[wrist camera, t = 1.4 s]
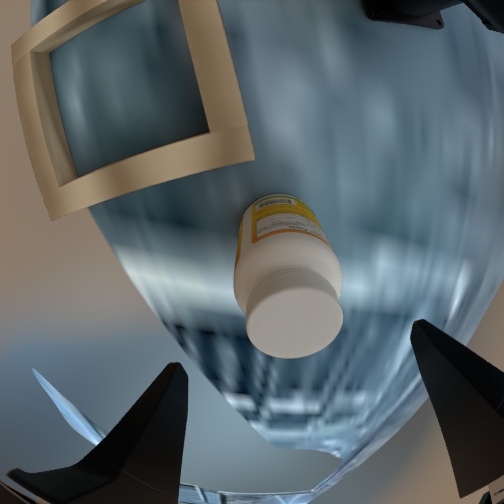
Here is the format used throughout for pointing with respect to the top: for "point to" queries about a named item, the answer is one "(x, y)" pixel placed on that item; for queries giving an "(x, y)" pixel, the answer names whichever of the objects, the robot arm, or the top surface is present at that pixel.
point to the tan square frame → (146, 163)
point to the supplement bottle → (287, 278)
